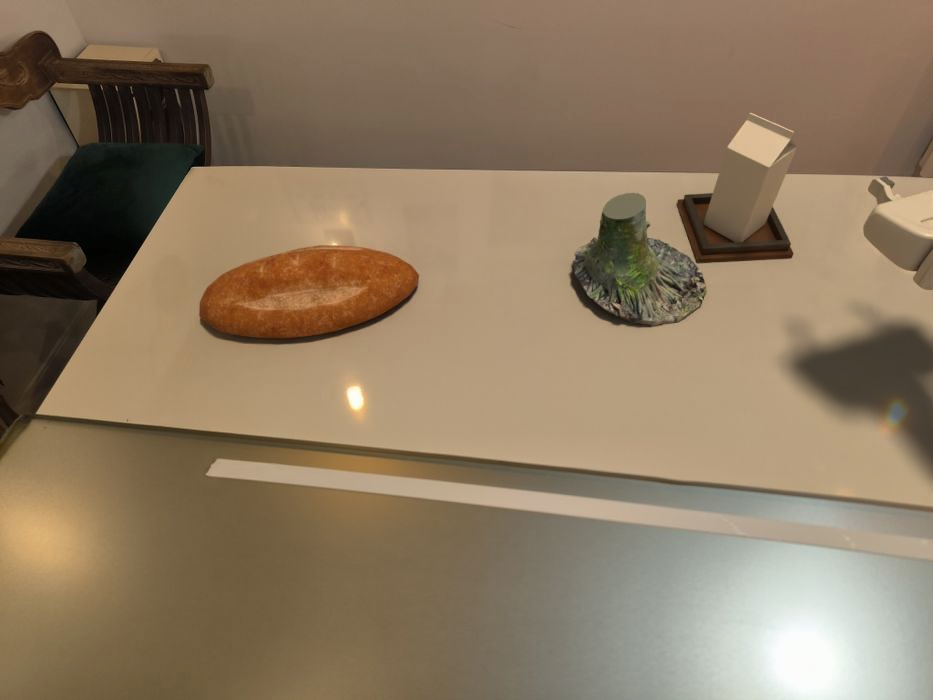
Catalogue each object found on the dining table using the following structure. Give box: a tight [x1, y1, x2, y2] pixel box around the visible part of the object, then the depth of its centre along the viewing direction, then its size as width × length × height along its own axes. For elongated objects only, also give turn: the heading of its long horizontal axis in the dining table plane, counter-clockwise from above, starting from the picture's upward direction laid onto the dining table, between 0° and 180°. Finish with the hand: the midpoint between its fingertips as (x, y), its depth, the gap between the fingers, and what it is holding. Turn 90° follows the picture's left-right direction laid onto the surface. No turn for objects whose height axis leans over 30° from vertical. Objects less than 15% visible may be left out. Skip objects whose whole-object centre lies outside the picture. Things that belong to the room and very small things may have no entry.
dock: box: [676, 192, 795, 264], centre depth 101 cm, size 15×15×2 cm
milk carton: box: [703, 112, 798, 243], centre depth 94 cm, size 7×7×19 cm
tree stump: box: [572, 192, 708, 327], centre depth 91 cm, size 18×20×18 cm
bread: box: [198, 244, 420, 339], centre depth 95 cm, size 18×35×9 cm, turn 97°
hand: (910, 172), depth 72 cm, fingers open, 8 cm apart
